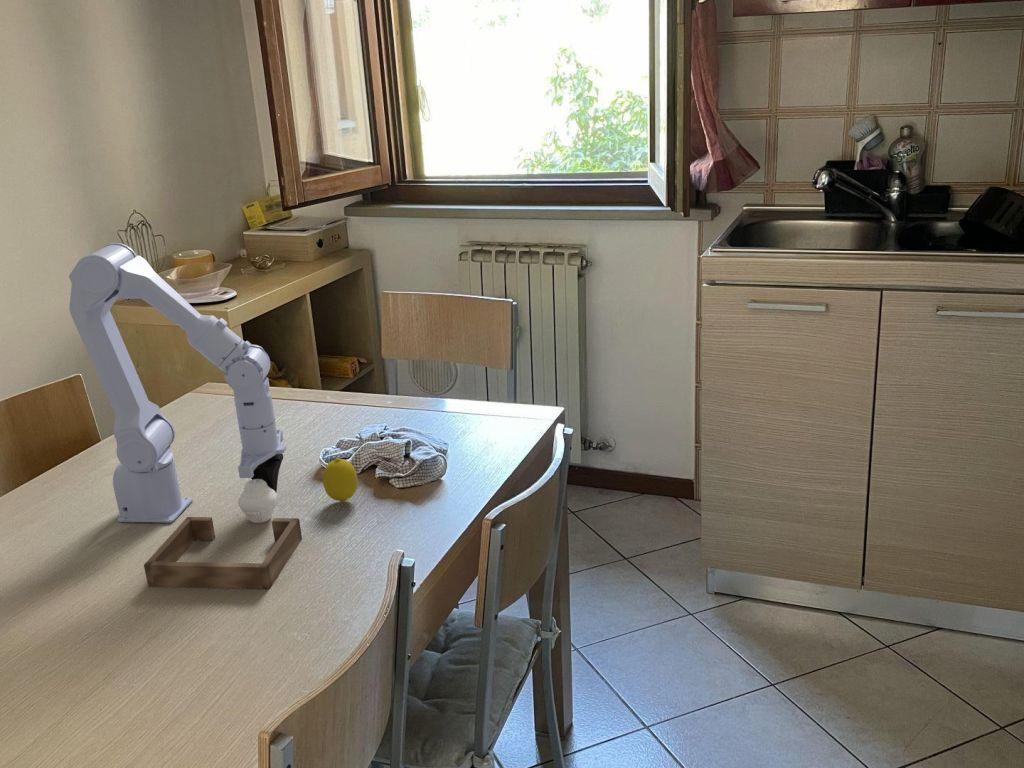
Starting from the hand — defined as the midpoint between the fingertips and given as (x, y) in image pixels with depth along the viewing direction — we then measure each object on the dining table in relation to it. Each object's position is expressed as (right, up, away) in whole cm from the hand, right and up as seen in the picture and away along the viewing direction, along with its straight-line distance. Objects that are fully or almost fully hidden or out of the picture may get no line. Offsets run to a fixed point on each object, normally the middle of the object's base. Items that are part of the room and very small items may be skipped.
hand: (268, 498), depth 154 cm
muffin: (0, -3, -3) cm, 5 cm away
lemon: (+12, -1, +1) cm, 12 cm away
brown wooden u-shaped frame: (-2, -7, -16) cm, 17 cm away
